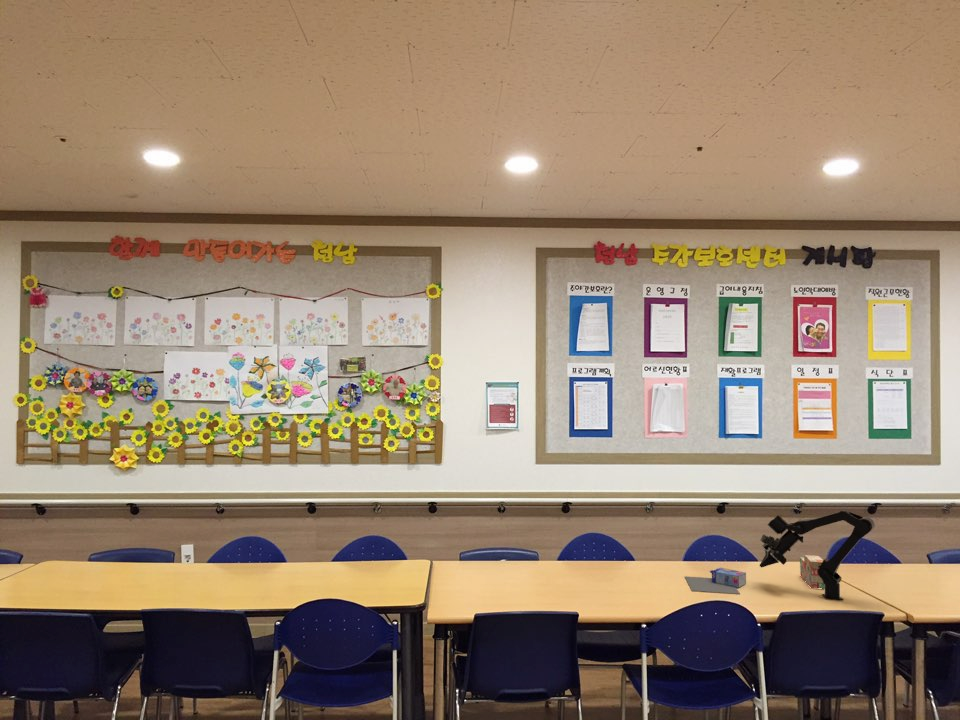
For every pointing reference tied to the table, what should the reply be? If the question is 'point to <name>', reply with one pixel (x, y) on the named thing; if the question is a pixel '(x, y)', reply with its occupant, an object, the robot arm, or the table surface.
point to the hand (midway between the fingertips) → (760, 566)
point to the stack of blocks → (811, 571)
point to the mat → (709, 586)
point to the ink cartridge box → (728, 577)
